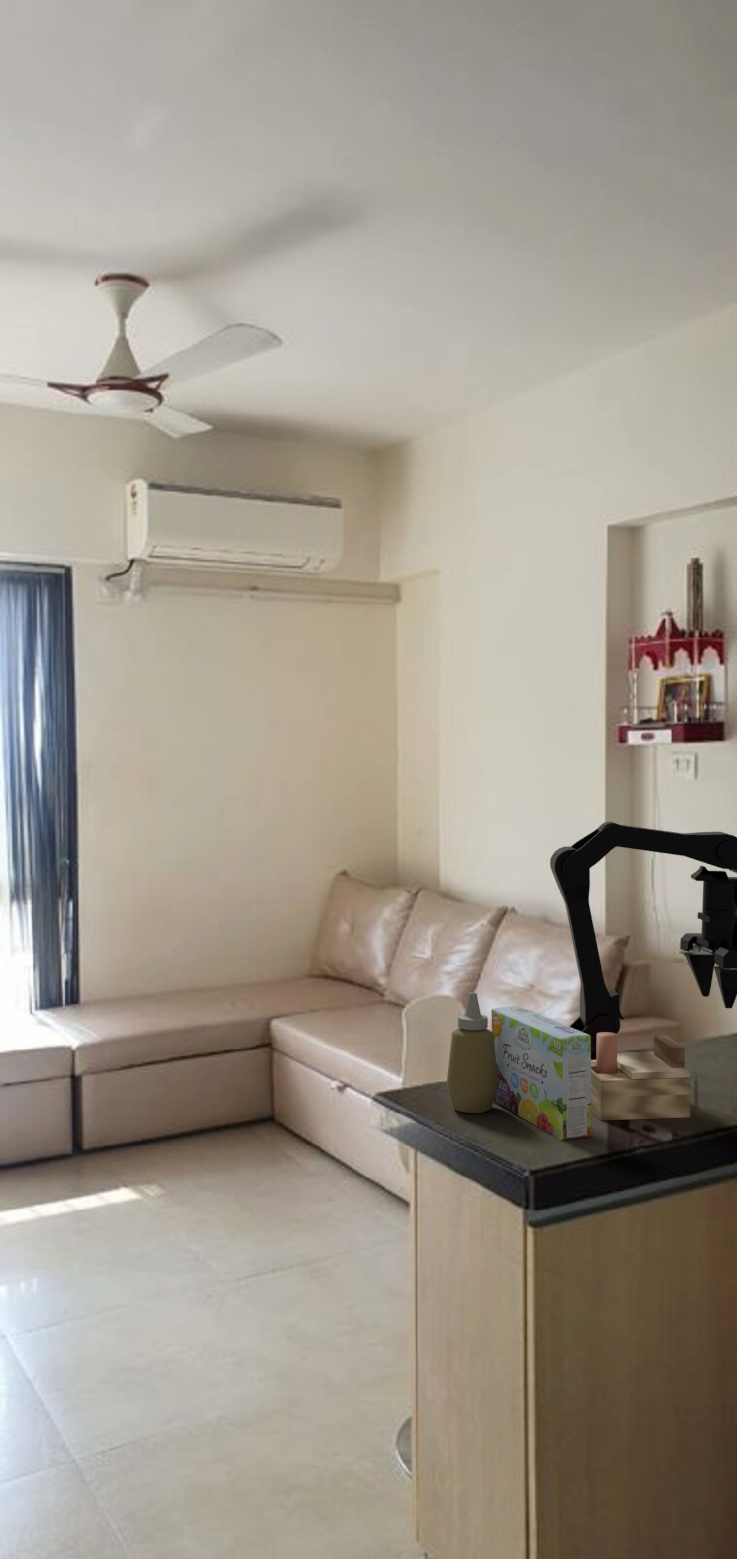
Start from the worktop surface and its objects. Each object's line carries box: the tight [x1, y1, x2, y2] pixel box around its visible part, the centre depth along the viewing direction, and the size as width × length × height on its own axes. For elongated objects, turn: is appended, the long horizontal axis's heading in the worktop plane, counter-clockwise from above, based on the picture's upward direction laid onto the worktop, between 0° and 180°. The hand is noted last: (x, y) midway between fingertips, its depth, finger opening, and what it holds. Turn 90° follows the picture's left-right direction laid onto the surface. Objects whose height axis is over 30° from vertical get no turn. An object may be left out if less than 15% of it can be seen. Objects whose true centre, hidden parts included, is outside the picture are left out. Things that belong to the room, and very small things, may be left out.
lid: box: [617, 1035, 692, 1079], centre depth 196 cm, size 9×12×4 cm
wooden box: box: [591, 1060, 692, 1121], centre depth 196 cm, size 14×12×6 cm
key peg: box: [596, 1032, 619, 1074], centre depth 195 cm, size 3×3×8 cm
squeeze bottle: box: [446, 992, 498, 1114], centre depth 195 cm, size 8×8×18 cm
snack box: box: [490, 1005, 592, 1142], centre depth 190 cm, size 21×6×15 cm, turn 23°
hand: (716, 1002), depth 208 cm, fingers open, 9 cm apart
